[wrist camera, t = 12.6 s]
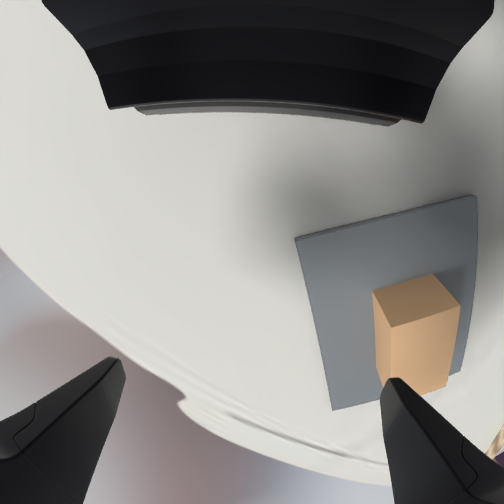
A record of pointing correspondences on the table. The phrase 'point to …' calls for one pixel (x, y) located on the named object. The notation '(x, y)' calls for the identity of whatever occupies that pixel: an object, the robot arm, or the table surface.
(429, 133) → the table surface
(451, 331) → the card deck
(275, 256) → the table surface
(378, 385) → the mat
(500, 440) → the organizer frame
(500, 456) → the game card
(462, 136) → the table surface
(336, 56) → the robot arm
